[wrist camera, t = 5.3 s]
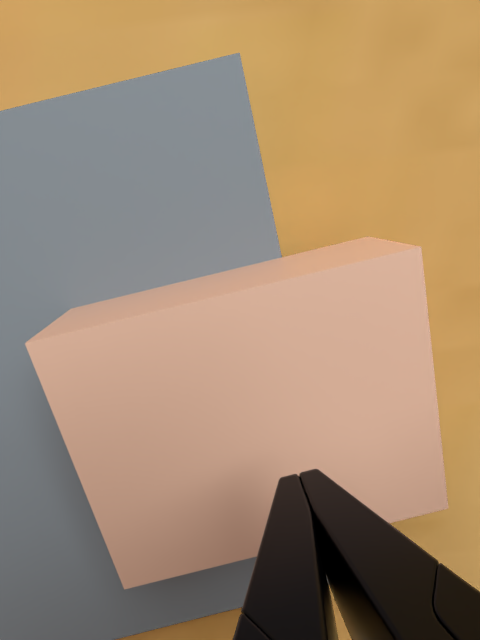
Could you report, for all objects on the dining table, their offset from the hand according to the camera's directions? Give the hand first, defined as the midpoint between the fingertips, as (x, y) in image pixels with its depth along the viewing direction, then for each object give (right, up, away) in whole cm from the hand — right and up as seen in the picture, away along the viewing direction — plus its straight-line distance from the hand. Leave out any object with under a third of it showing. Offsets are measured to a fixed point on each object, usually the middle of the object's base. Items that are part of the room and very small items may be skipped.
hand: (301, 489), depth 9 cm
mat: (-6, +1, +7) cm, 9 cm away
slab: (+4, +2, +4) cm, 6 cm away
